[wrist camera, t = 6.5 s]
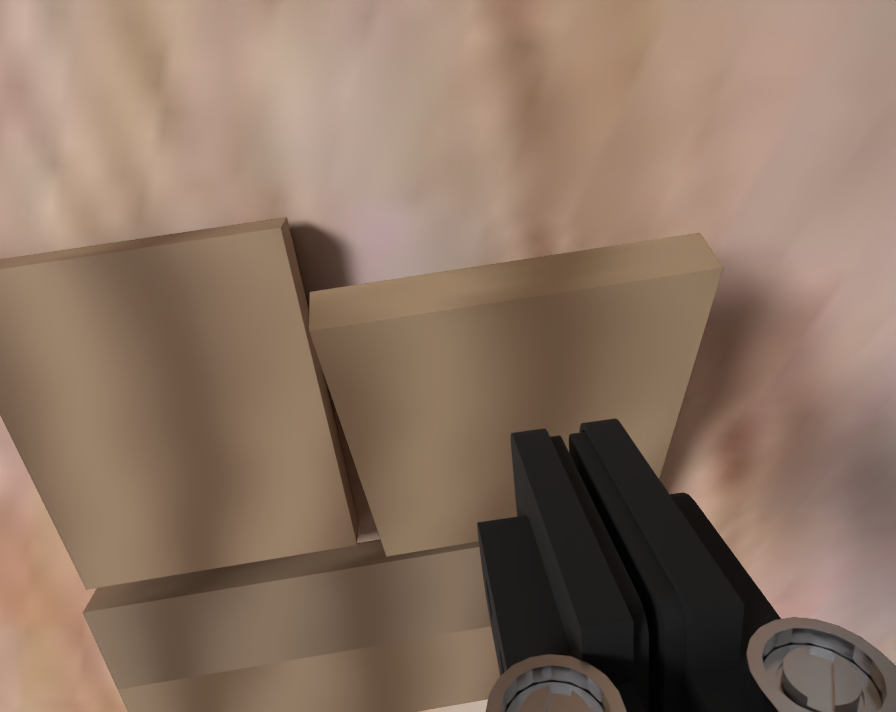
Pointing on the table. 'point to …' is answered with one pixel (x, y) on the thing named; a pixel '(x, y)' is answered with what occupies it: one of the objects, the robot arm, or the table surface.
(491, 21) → the table surface
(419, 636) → the floor strip
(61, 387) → the plank
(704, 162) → the table surface
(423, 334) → the plank
